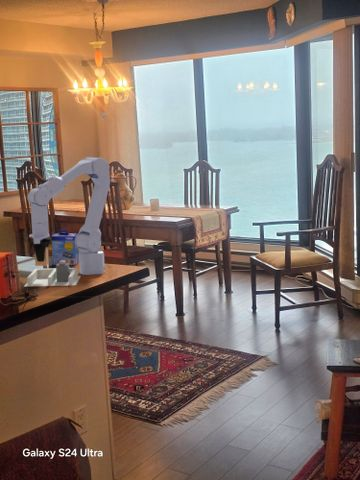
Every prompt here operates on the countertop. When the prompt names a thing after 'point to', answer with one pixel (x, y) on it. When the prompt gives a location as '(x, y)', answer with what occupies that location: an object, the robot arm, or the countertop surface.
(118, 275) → the countertop surface
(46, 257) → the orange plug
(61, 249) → the ink cartridge box
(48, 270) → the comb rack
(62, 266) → the charcoal plug
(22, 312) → the countertop surface
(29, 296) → the countertop surface
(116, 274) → the countertop surface
